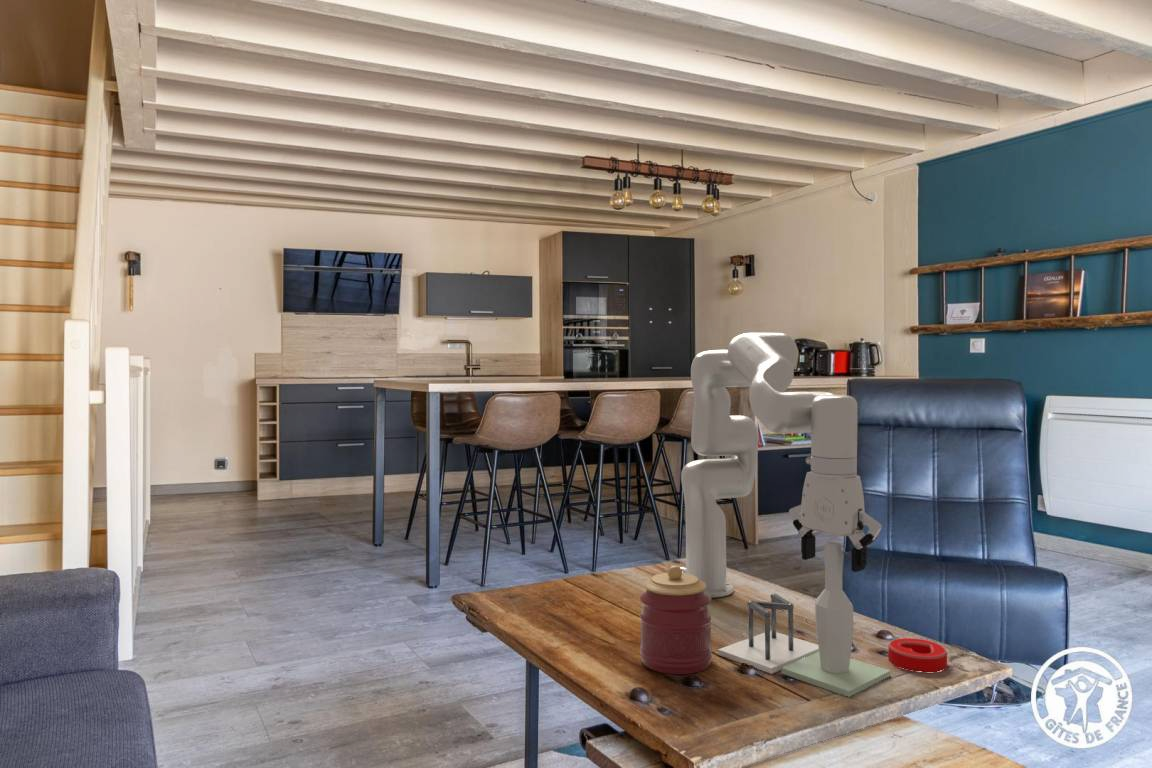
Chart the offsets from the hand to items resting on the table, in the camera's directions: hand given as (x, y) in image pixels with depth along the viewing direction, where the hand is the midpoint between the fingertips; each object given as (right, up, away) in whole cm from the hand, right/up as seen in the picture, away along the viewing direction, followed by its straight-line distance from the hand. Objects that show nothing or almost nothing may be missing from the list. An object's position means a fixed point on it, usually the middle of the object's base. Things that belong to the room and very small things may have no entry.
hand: (832, 564), depth 133 cm
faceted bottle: (0, -18, 0) cm, 18 cm away
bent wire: (-8, -19, +10) cm, 23 cm away
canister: (-26, -20, +7) cm, 34 cm away
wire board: (-8, -19, +10) cm, 23 cm away
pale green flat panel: (0, -19, 0) cm, 19 cm away
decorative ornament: (+17, -19, +5) cm, 26 cm away
